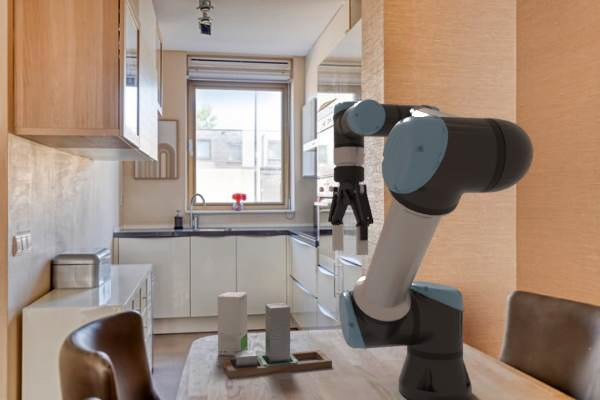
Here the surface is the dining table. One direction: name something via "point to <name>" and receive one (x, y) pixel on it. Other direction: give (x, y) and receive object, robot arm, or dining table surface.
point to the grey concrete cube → (245, 359)
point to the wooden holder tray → (280, 364)
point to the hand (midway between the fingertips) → (349, 252)
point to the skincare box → (232, 323)
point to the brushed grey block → (277, 333)
